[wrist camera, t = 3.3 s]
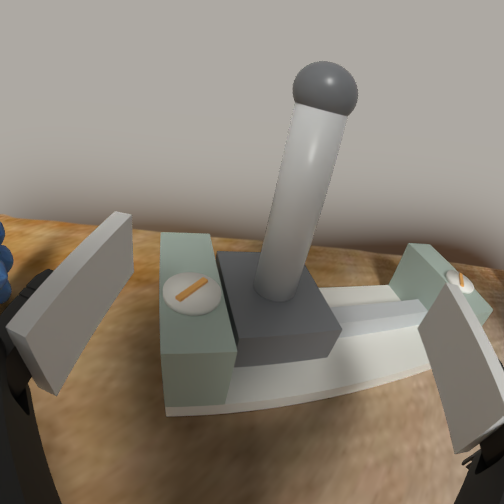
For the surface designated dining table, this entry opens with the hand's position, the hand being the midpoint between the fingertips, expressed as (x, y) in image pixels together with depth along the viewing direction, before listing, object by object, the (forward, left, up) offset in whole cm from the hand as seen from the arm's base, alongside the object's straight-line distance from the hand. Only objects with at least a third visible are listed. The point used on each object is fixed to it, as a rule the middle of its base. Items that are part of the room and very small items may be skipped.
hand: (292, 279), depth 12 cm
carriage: (-3, -7, -10) cm, 12 cm away
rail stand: (-10, -7, -13) cm, 18 cm away
